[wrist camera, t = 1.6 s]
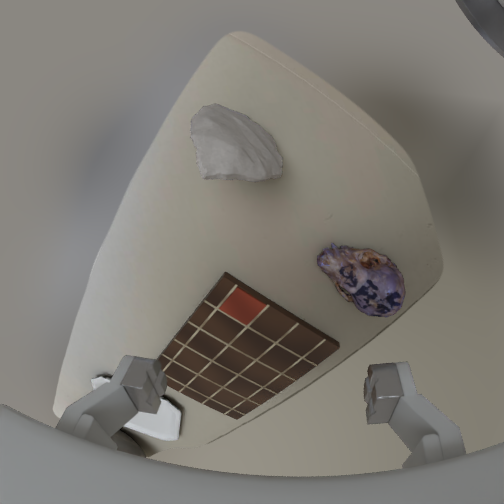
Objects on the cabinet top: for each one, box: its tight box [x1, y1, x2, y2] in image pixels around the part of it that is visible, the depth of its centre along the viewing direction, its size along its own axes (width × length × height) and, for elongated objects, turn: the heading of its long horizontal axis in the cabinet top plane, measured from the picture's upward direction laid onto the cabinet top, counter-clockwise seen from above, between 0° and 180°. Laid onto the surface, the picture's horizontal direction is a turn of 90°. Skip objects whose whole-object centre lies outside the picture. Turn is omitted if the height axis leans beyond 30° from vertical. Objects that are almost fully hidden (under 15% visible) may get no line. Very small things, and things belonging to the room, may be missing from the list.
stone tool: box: [190, 104, 283, 182], centre depth 25 cm, size 9×3×15 cm, turn 57°
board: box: [156, 272, 340, 419], centre depth 48 cm, size 28×20×1 cm
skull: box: [317, 243, 405, 317], centre depth 35 cm, size 12×8×6 cm, turn 53°
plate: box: [91, 376, 181, 441], centre depth 60 cm, size 21×21×2 cm
